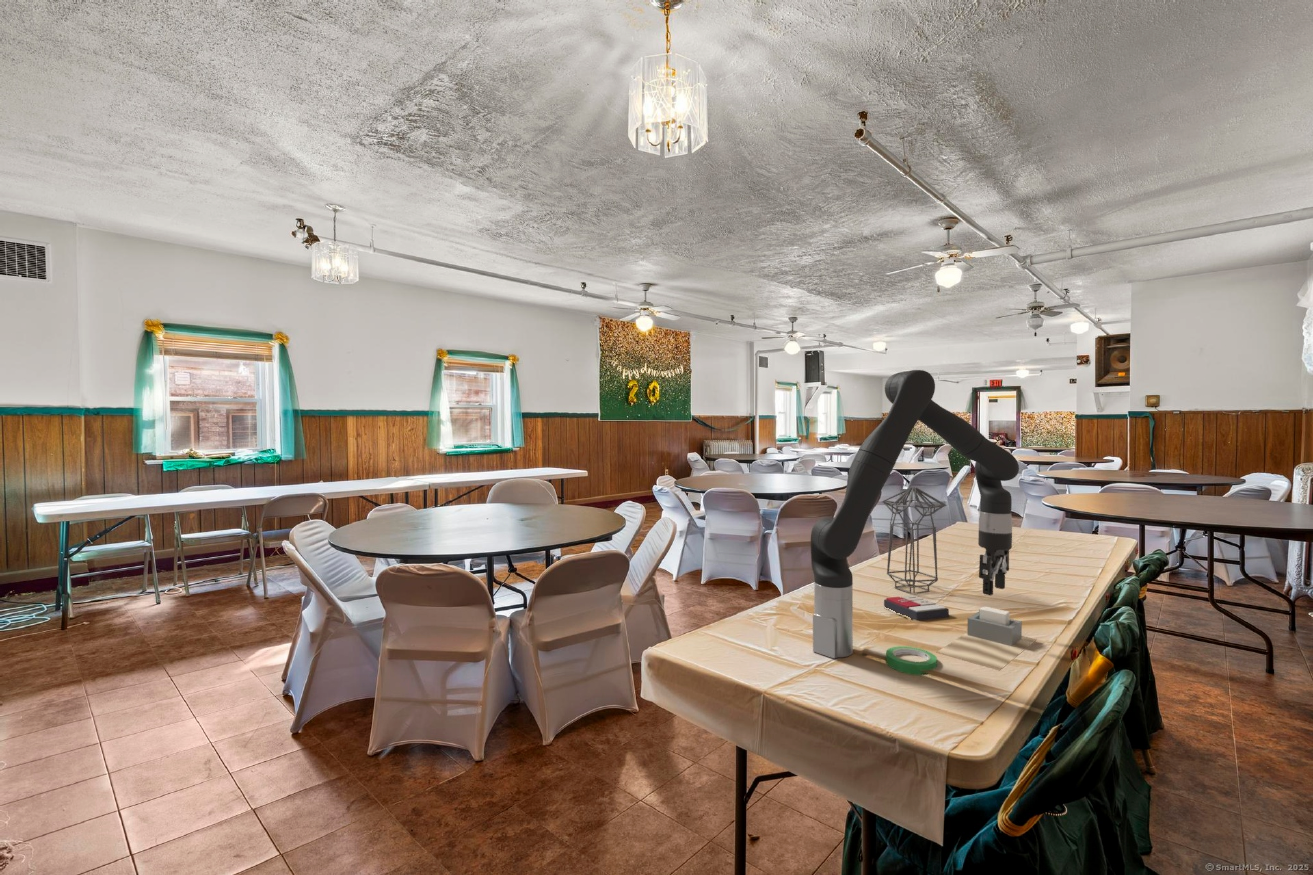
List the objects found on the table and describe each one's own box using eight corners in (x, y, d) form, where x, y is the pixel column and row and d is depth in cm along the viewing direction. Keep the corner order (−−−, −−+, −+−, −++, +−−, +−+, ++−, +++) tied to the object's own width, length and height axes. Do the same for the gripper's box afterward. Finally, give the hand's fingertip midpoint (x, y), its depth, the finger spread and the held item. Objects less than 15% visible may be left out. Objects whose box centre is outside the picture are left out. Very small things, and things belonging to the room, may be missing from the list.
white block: (1005, 637, 148) (1005, 614, 148) (978, 631, 152) (978, 608, 152) (1009, 634, 150) (1009, 611, 150) (982, 628, 155) (982, 606, 154)
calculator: (913, 593, 181) (949, 606, 167) (914, 607, 181) (949, 621, 167) (883, 597, 178) (917, 609, 164) (883, 611, 178) (917, 625, 164)
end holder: (1011, 646, 145) (1011, 628, 145) (967, 635, 153) (967, 618, 152) (1021, 638, 150) (1021, 621, 150) (978, 628, 157) (978, 611, 157)
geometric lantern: (877, 585, 202) (878, 485, 201) (914, 582, 206) (915, 484, 206) (910, 598, 187) (911, 490, 186) (949, 594, 191) (950, 488, 191)
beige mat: (999, 674, 131) (999, 670, 131) (936, 656, 142) (936, 652, 142) (1036, 643, 149) (1036, 639, 149) (978, 628, 160) (978, 625, 160)
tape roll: (894, 652, 145) (894, 642, 145) (942, 664, 138) (942, 653, 138) (879, 667, 137) (879, 656, 136) (929, 680, 130) (929, 668, 129)
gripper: (1001, 535, 143) (1000, 600, 143) (1020, 528, 152) (1019, 589, 153) (969, 530, 148) (967, 593, 149) (989, 524, 158) (988, 583, 158)
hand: (994, 591), depth 151 cm, fingers open, 8 cm apart
